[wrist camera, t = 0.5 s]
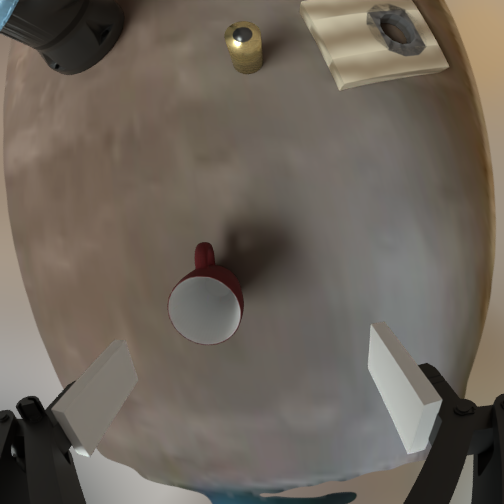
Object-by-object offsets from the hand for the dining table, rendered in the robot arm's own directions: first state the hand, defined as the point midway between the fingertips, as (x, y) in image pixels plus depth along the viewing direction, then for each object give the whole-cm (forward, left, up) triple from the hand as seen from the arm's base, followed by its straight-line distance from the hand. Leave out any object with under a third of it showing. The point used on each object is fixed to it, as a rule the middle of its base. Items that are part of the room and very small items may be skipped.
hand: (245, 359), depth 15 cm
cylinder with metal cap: (-25, +7, -26) cm, 37 cm away
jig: (-24, +26, -26) cm, 44 cm away
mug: (+1, -7, -26) cm, 27 cm away
